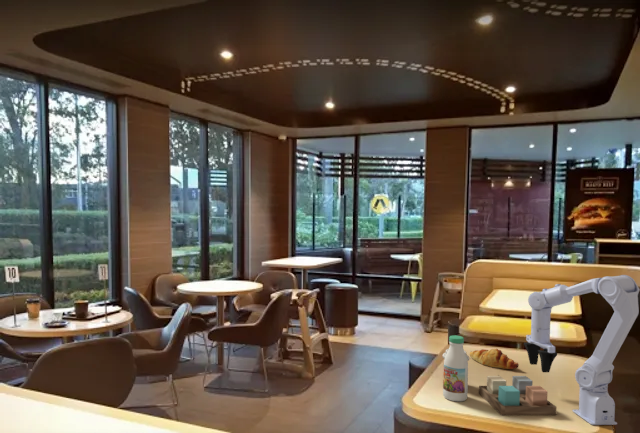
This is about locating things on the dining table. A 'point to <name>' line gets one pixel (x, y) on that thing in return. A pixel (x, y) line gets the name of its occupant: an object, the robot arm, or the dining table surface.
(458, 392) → the milk bottle
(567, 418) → the dining table surface
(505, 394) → the teal block
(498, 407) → the puzzle board
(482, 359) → the croissant
